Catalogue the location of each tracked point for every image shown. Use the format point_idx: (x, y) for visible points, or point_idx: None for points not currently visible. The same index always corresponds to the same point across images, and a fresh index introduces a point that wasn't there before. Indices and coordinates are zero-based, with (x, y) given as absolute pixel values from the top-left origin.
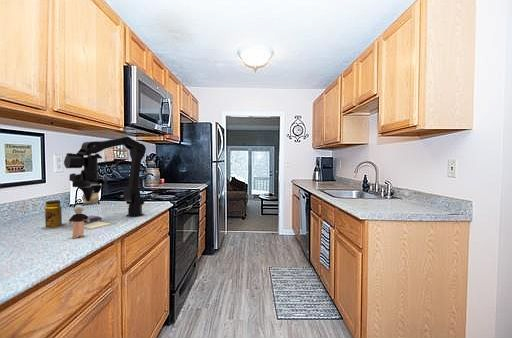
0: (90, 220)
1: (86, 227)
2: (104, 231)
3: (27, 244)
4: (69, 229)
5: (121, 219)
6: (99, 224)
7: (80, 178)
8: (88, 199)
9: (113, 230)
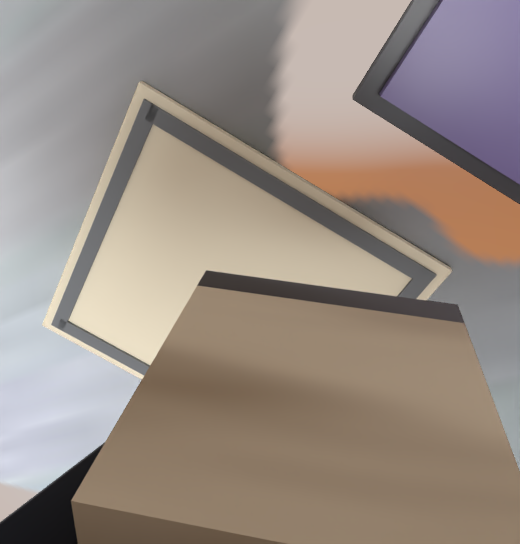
0: (458, 165)
1: (102, 264)
2: (20, 431)
3: None
4: (37, 104)
5: (516, 455)
6: None
7: None
8: None
9: (57, 476)
